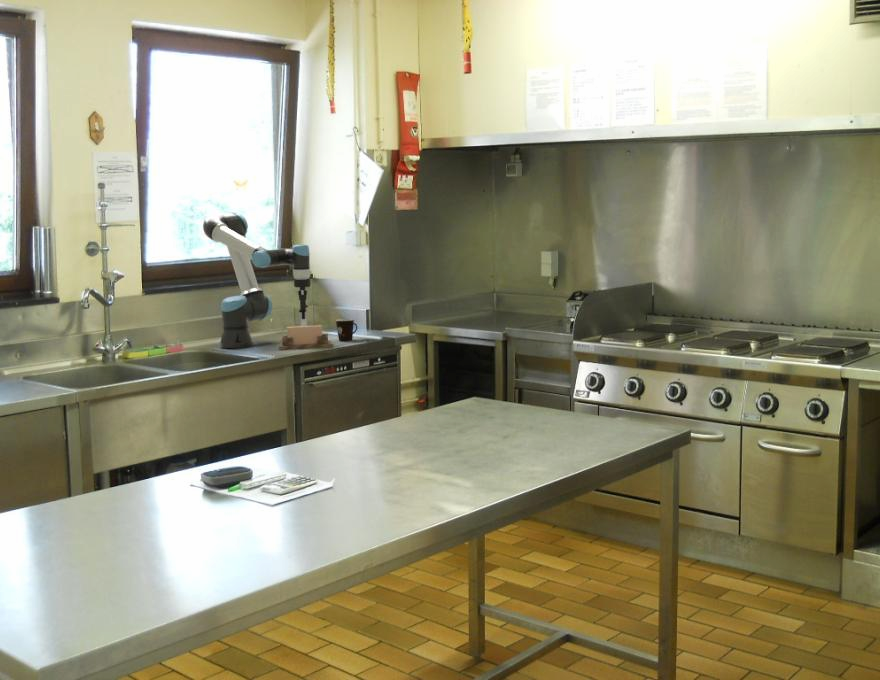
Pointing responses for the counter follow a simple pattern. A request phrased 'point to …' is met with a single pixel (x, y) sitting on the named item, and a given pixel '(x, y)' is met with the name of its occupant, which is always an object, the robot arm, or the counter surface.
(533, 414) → the counter surface
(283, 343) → the drying rack
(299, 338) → the clay bar
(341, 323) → the coffee mug
